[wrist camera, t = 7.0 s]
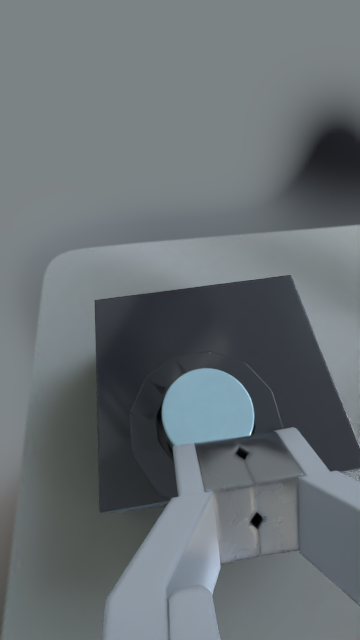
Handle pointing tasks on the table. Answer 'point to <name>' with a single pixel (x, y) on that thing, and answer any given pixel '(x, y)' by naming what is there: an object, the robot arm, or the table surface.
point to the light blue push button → (206, 408)
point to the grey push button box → (216, 353)
